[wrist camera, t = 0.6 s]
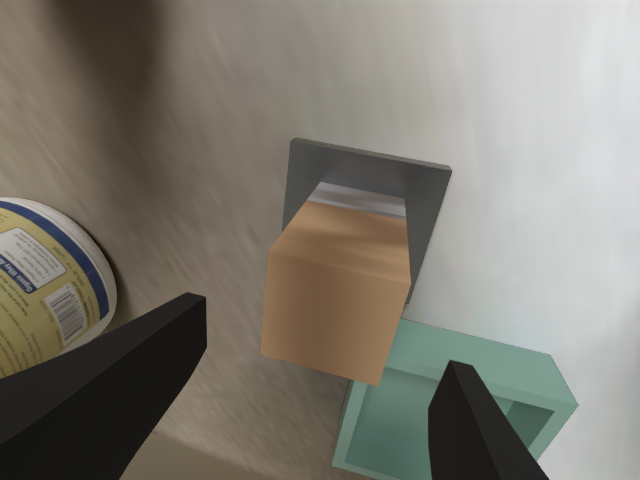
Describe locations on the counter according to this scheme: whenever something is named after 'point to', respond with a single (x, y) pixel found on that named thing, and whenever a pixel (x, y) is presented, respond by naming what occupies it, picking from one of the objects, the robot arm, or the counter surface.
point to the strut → (338, 283)
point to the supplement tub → (48, 285)
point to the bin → (419, 388)
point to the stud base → (370, 186)
